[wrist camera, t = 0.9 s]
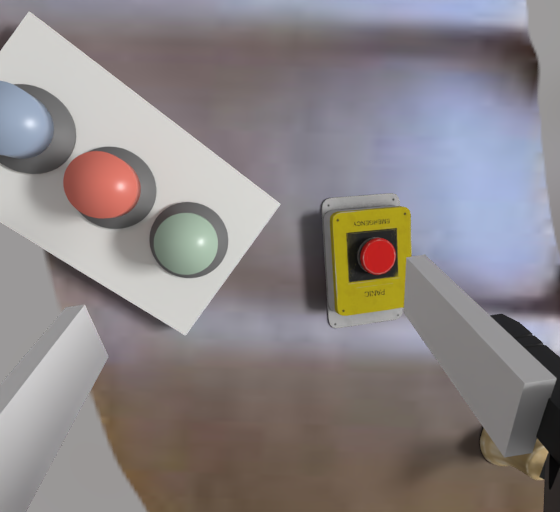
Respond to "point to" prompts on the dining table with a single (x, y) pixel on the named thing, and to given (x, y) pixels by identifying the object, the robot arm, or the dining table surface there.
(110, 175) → the red button
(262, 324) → the dining table surface
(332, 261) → the emergency button
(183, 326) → the button panel
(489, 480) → the dining table surface
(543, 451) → the hand bell
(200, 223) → the sage-green button
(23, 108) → the slate-blue button
